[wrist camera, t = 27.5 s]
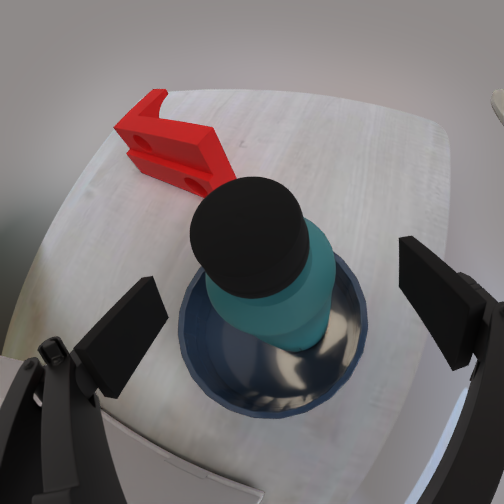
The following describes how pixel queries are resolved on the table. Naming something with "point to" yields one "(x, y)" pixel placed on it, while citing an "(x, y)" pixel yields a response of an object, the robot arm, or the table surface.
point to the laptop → (153, 465)
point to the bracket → (174, 148)
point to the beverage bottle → (264, 263)
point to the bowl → (271, 354)
